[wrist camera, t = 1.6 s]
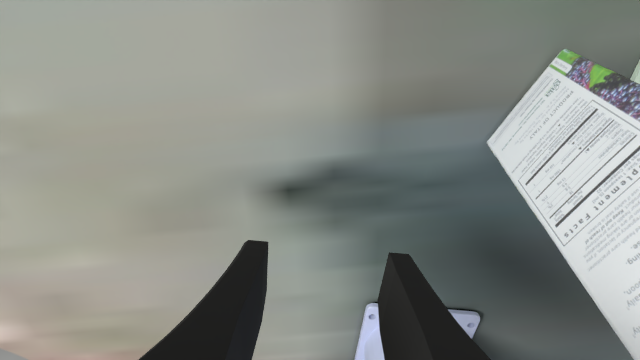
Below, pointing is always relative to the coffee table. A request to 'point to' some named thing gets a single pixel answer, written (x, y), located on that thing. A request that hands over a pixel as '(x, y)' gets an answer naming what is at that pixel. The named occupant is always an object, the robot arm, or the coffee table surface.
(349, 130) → the coffee table surface
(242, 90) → the coffee table surface
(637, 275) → the syrup box
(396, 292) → the robot arm
